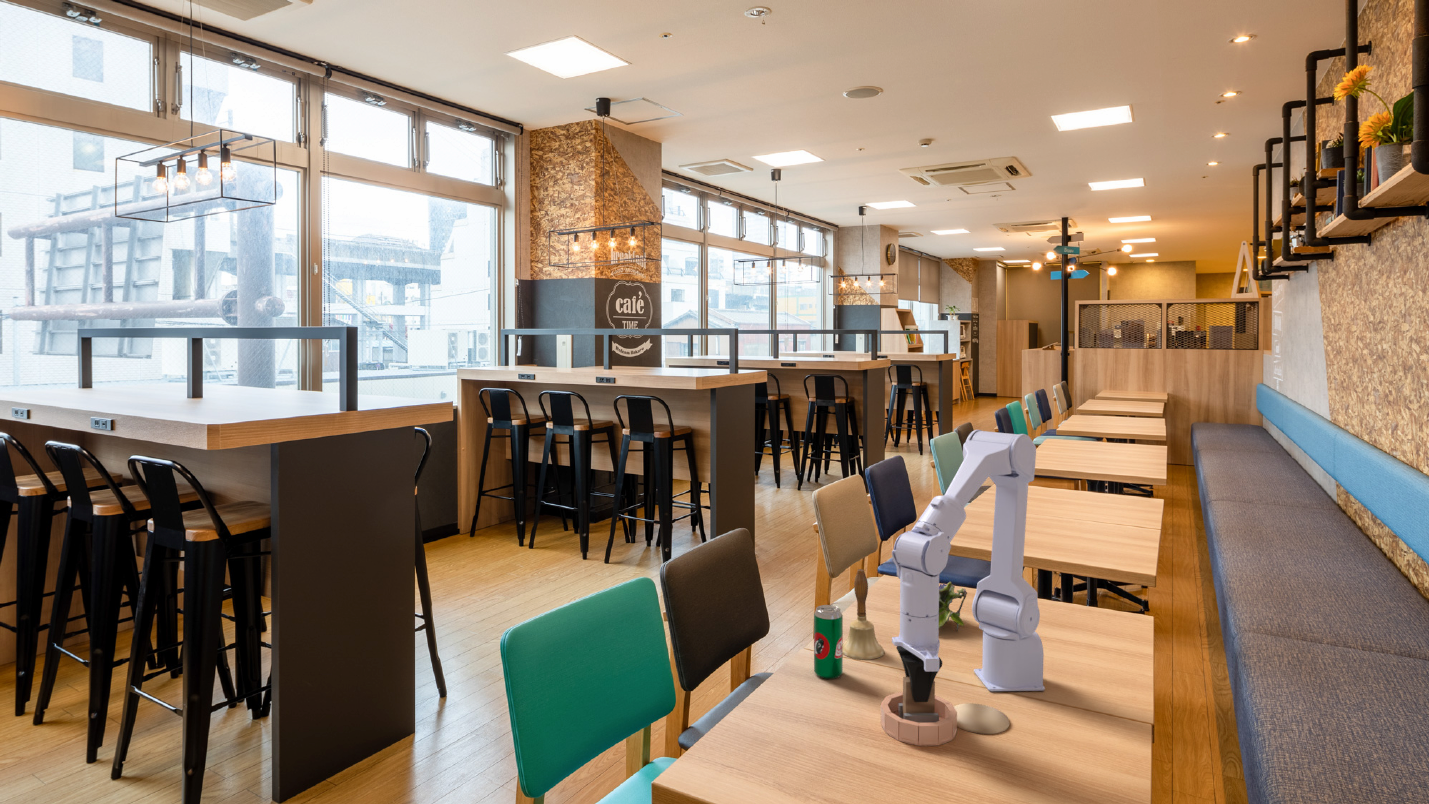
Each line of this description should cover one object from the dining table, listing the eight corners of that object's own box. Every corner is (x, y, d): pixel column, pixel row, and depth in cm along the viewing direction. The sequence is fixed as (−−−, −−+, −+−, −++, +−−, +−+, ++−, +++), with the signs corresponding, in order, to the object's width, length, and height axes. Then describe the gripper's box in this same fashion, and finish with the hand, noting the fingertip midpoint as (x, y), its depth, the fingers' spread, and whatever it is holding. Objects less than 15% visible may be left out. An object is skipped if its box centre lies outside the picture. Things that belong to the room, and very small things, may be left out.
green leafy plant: (929, 644, 163) (941, 591, 168) (974, 651, 154) (985, 594, 159) (897, 625, 157) (911, 570, 162) (942, 630, 149) (955, 572, 154)
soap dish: (943, 708, 124) (943, 690, 123) (966, 745, 112) (966, 725, 112) (874, 709, 123) (874, 691, 123) (890, 746, 112) (890, 726, 112)
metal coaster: (996, 705, 124) (996, 702, 124) (1018, 733, 115) (1018, 731, 115) (941, 706, 124) (941, 703, 124) (959, 734, 115) (959, 732, 115)
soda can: (842, 681, 134) (842, 614, 133) (813, 679, 135) (812, 613, 134) (843, 669, 139) (843, 604, 138) (815, 667, 140) (814, 603, 139)
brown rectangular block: (931, 720, 119) (931, 676, 118) (934, 725, 117) (934, 681, 116) (902, 720, 119) (903, 676, 118) (905, 726, 117) (905, 682, 116)
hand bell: (856, 663, 141) (856, 578, 140) (831, 646, 149) (831, 566, 148) (893, 655, 145) (893, 573, 143) (867, 639, 152) (867, 561, 151)
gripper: (882, 595, 124) (881, 676, 125) (905, 629, 109) (904, 720, 110) (925, 595, 124) (925, 676, 125) (954, 628, 109) (953, 720, 110)
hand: (918, 697), depth 118 cm, fingers closed on brown rectangular block, 2 cm apart
